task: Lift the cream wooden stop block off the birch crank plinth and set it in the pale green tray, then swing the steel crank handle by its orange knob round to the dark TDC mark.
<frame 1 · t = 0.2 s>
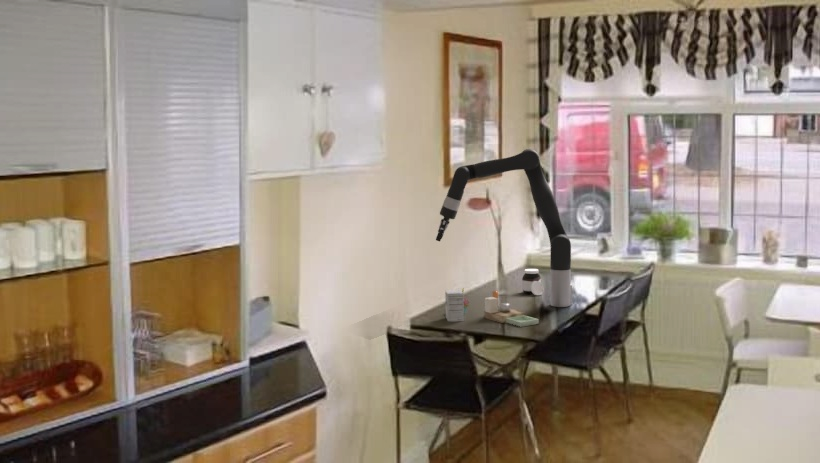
hand: (438, 239, 460), 31 cm above the table, tool tilted 20°, fingers open, 8 cm apart
supplement box: (454, 320, 433), on the table
plinth: (504, 318, 433), on the table
crank: (500, 301, 436), point 7 cm above the table, hinge at -100.0°
spread jar: (533, 294, 486), on the table
stop block: (491, 311, 434), point 3 cm above the table, touching plinth
tray: (522, 323, 423), on the table
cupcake: (459, 313, 445), on the table
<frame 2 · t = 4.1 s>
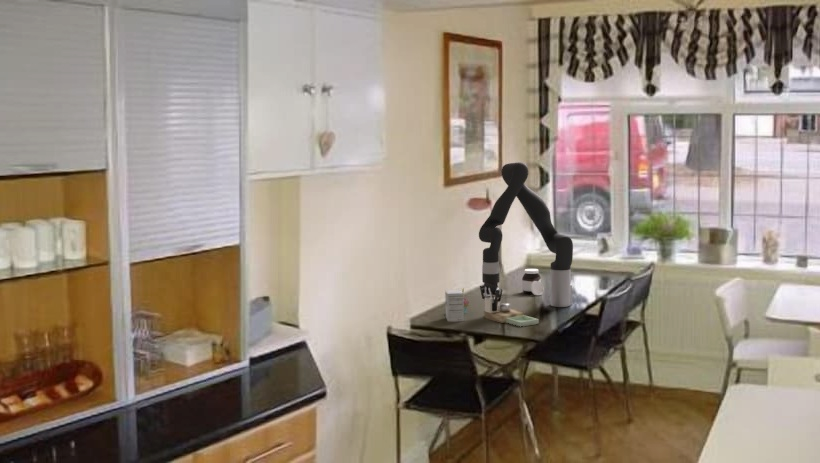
hand: (491, 309, 434), 4 cm above the table, tool pointing down, fingers closed on stop block, 4 cm apart
stop block: (491, 311, 434), point 3 cm above the table, touching gripper, plinth
everything else where it was.
when the fingers open (3 cm above the table, at t = 8.8 s): stop block drops 1 cm, resting on tray.
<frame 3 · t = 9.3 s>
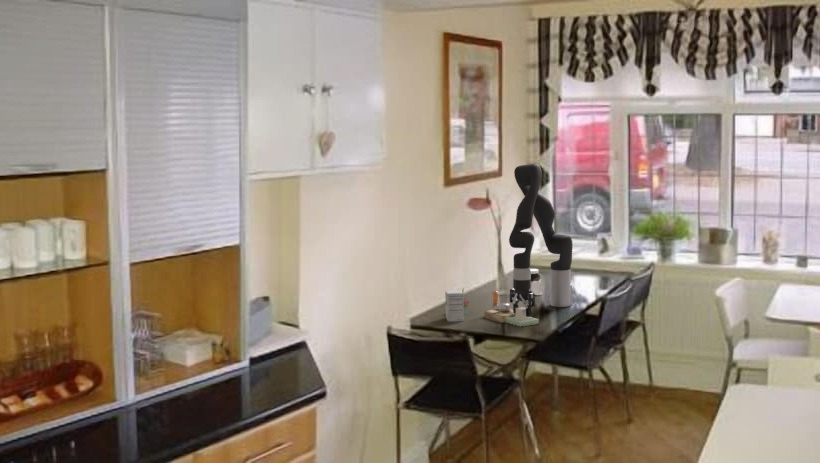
hand: (522, 314, 423), 4 cm above the table, tool pointing down, fingers open, 8 cm apart
stop block: (522, 321, 423), point 1 cm above the table, touching tray
everything else where it was.
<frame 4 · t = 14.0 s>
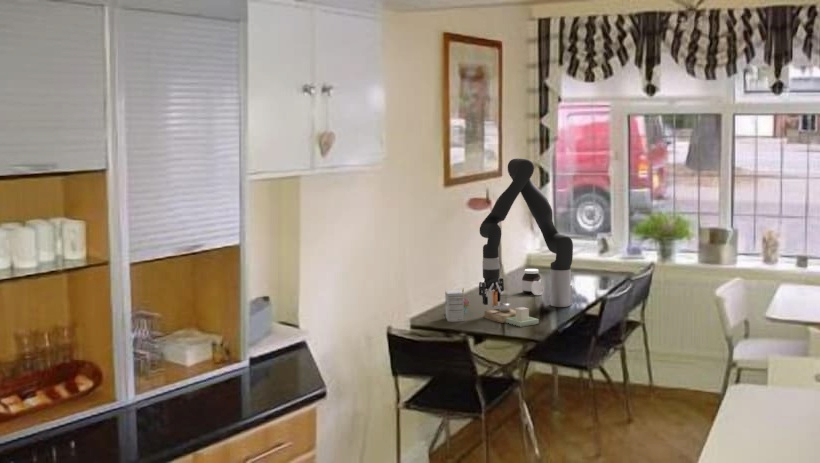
hand: (491, 303, 438), 6 cm above the table, tool pointing down, fingers open, 8 cm apart
crank: (500, 301, 436), point 7 cm above the table, hinge at -98.9°, touching gripper
everything else where it was.
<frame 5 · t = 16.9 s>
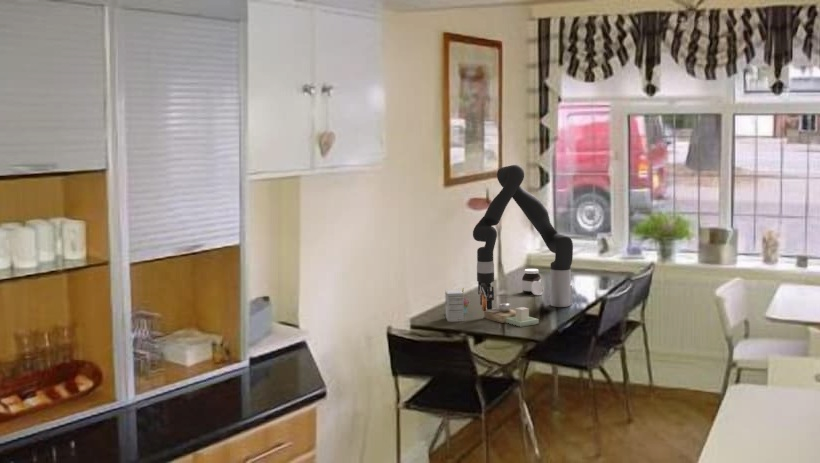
hand: (486, 307, 431), 6 cm above the table, tool pointing down, fingers open, 8 cm apart
crank: (496, 302, 433), point 7 cm above the table, hinge at -39.4°, touching gripper
everything else where it was.
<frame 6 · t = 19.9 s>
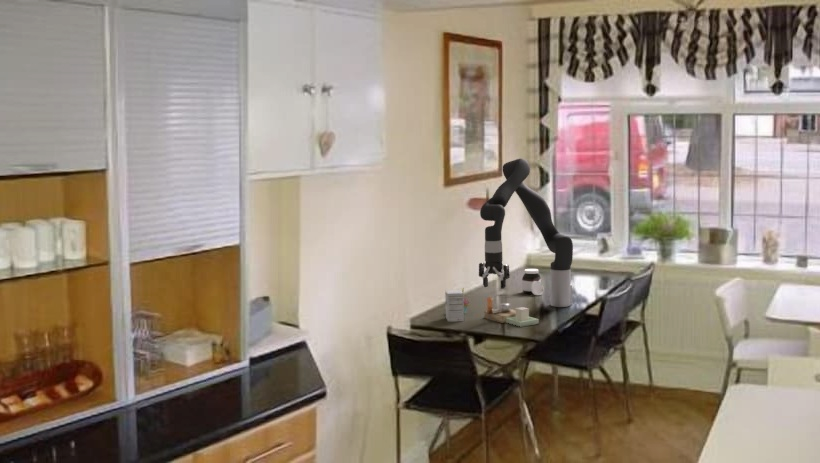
hand: (494, 287, 424), 15 cm above the table, tool pointing down, fingers open, 8 cm apart
crank: (498, 304, 430), point 7 cm above the table, hinge at 5.1°
everything else where it was.
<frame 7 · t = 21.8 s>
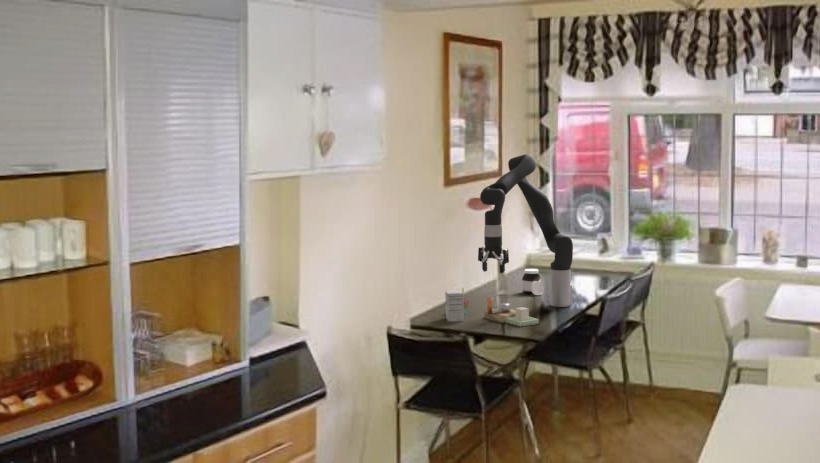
hand: (493, 272, 423), 22 cm above the table, tool pointing down, fingers open, 8 cm apart
nothing on the table moved.
at the end: crank at +5° (first picture: -100°); stop block inside the target area on the tray (0.2 cm from its centre), point 0.6 cm above the tray's base; the gripper is holding nothing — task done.
